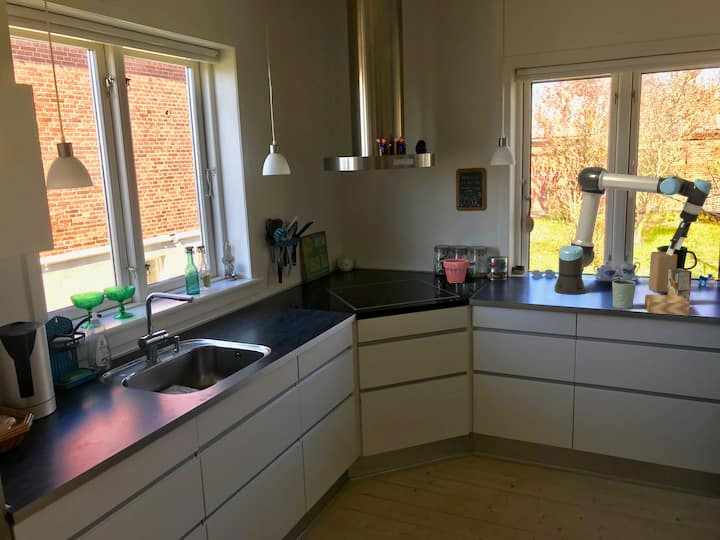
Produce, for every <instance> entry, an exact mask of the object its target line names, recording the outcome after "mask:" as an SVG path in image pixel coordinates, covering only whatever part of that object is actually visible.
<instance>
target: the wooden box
mask: <svg viewBox="0 0 720 540" xmlns="http://www.w3.org/2000/svg"><path fill="white" fill-rule="evenodd" d="M644 297H645V298H644V306H646V307H645V309H646V308H647V309H646V311H647V313H648V314H661V315H675V316H676V315H677V316H678V315H679V316H689V314H690V313H689V312H690V303H688V302H687V300H686V299H685V298H684V296H670V295H667V294H645V295H644Z"/></svg>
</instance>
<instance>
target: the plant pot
mask: <svg viewBox="0 0 720 540" xmlns="http://www.w3.org/2000/svg"><path fill="white" fill-rule="evenodd" d="M443 268H445V274H446V279H447V283H448V282H449V284H452V283H460V284H464V283H465V278H466V274H467V268H469V260H468V259H466V258H465V259H463V258H449V259H448V258H447V259H444V260H443ZM463 282H464V283H463Z"/></svg>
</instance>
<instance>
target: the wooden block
mask: <svg viewBox="0 0 720 540" xmlns="http://www.w3.org/2000/svg"><path fill="white" fill-rule="evenodd" d="M666 253H667V251H652V252H651V253H650V261H649V262H650V263H649V279H648V289H649V290H651V291H653V293H656V292H657V294H659V293H662V294H663V293H665V294H666V293H667V290H668V273H669V269H673V268H677V266H678V254H676V253H675V252H673V255H672V256H671V255H668V254H666Z"/></svg>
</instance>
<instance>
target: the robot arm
mask: <svg viewBox="0 0 720 540" xmlns="http://www.w3.org/2000/svg"><path fill="white" fill-rule="evenodd" d="M577 183H578V185H579V187H580V188H581V189H580V193H581V194H582V200H581V205H580V211H579V217H578V222H577V227H576V233H575V238H574V239H572V241H571V242H570V245H567V246H566V245H565V246H562V247H561V248H560V249H559V253H558V275H557V279H556V282H555V285H554V290H553V291H554V292H555V293H558V294H561V295H562V294H563V295H581V294H584V293H585V292H586V286H585V283H584V281H583V269H585V268H587V267H588V266H591V264H592V263H593V262H594V260H595V255H596V254H595V250H594V249H595V244H594V243H593V237H594V233H595V227H596V223H597V218H598V212H599V207H600V202H601V197H603V196H604V195H605V193H606V189H607V190H608V189H609V190H617V191H627V192H628V191H629V192H637V193H638V192H639V193H648V194H649V193H650V194H658V195H659V194H660V195H665V196H675V195H679V196H682V197H685V198H687V199H686V200H685V203H684V205H683V207H682V210H681V212H680V214H679V218H680V219H681V220H682V221H680V223H679V225H678V226H677V228H676V230H675V232H674V234H673V236H672V237H671V239H669V242H670V243H669V246H668V249H667V251H666V252H667V253H666V254H668V255H671V256H672V255H673V253H675V250H678V251H680V249H681V247H682V246H683V243H684V241H685V239H687V238H688V233H689V231H690V228H691V224H692V223H695V222H697V220H698V218H699V214H700V213H701V211H703V210H704V208H703V206H704V204H705V202H706V201H707V198H708V196H709V194H710V191H711V190H712V185H713V184H712V183H711V182H710V181H708V180H705V179H701V178H696V179H695V180H694V181H691V180H688V179H686V178H685V179H684V178H683V177H679V176H676V175H672V174H669V175H667V177H657V176H647V175H646V176H645V175H637V174H636V175H633V174H625V173H624V174H623V173H613V172H612V173H611V172H609V171H608V170H607V169H606V168H604V167H601V166H587V167H584V168H583V169H581V170H580V172H579V173H578V175H577Z"/></svg>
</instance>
